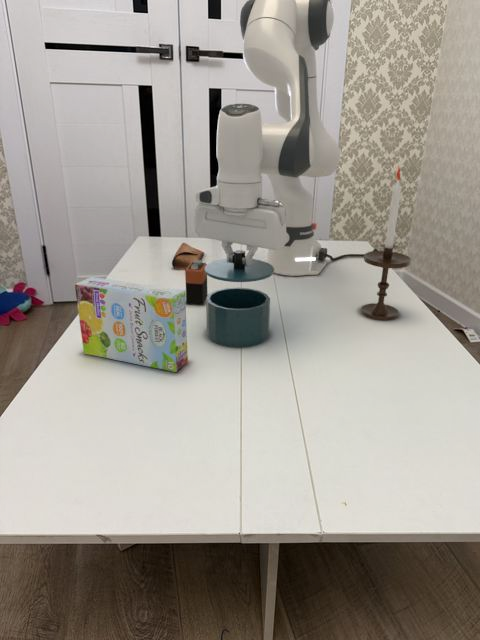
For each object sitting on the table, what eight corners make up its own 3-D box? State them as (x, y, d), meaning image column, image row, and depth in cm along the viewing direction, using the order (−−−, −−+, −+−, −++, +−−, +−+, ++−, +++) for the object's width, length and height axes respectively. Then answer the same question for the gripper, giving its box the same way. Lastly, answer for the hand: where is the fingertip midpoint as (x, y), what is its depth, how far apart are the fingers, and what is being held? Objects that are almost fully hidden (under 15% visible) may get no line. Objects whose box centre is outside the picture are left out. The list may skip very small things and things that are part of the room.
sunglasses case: (200, 268, 153) (188, 249, 151) (180, 279, 155) (168, 260, 152) (205, 252, 170) (194, 235, 167) (187, 262, 171) (176, 245, 168)
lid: (229, 259, 115) (228, 239, 113) (285, 270, 109) (286, 249, 107) (190, 276, 104) (189, 254, 102) (251, 290, 97) (251, 266, 95)
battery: (207, 296, 133) (207, 259, 129) (202, 305, 127) (202, 267, 123) (191, 295, 134) (190, 258, 129) (185, 304, 128) (184, 266, 123)
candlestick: (383, 325, 119) (407, 169, 104) (348, 311, 126) (365, 164, 111) (410, 314, 126) (435, 166, 110) (375, 302, 133) (394, 161, 117)
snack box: (189, 361, 100) (187, 289, 93) (176, 374, 95) (172, 299, 89) (98, 343, 106) (90, 274, 99) (81, 354, 101) (71, 283, 95)
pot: (228, 317, 121) (229, 283, 117) (279, 330, 115) (280, 295, 111) (195, 337, 110) (193, 301, 106) (248, 352, 104) (249, 314, 100)
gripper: (293, 199, 97) (290, 268, 103) (206, 188, 106) (208, 252, 112) (278, 204, 92) (276, 276, 98) (188, 192, 101) (191, 259, 107)
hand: (239, 263), depth 105 cm, fingers closed on lid, 2 cm apart
